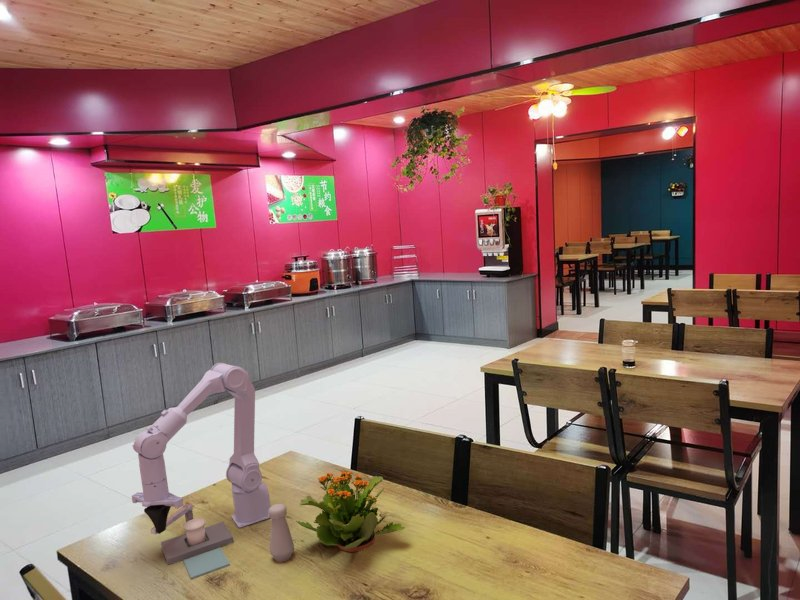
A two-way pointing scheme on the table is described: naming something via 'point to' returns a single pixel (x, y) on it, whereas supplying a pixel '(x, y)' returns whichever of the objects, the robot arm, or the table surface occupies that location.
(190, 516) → the clip post
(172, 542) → the socket block
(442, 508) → the table surface
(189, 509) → the clip
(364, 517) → the potted flower
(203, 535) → the plug
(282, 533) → the salt shaker
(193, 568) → the mat
